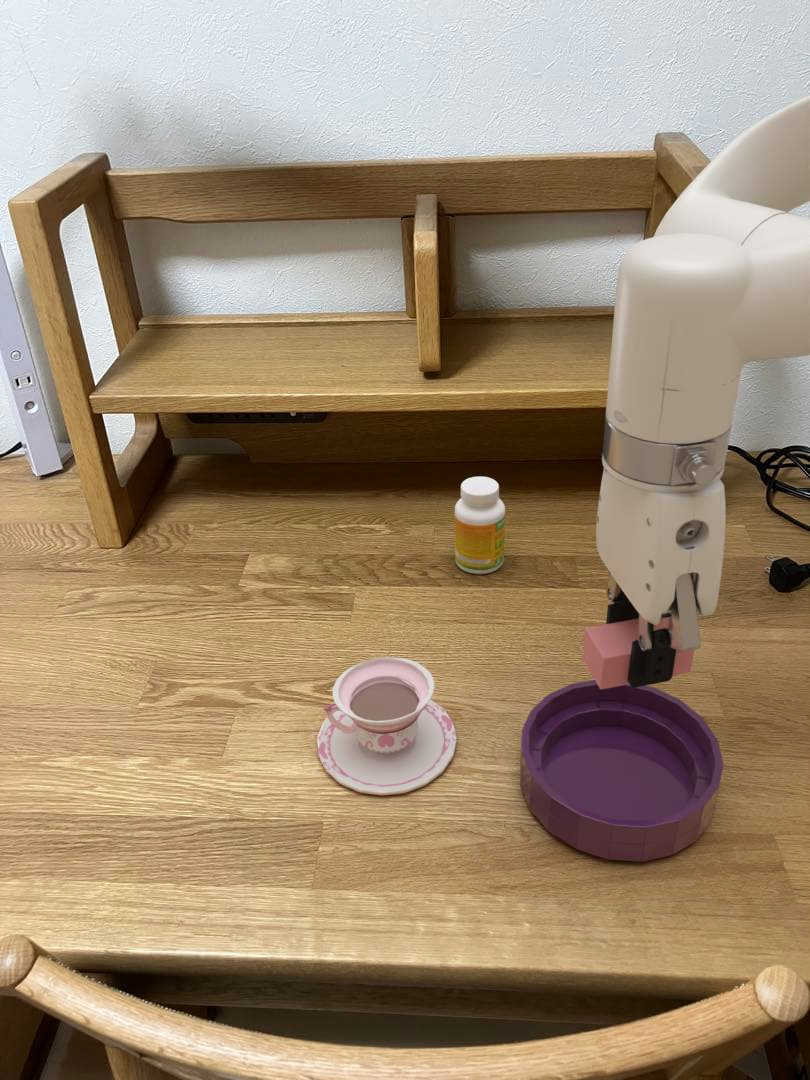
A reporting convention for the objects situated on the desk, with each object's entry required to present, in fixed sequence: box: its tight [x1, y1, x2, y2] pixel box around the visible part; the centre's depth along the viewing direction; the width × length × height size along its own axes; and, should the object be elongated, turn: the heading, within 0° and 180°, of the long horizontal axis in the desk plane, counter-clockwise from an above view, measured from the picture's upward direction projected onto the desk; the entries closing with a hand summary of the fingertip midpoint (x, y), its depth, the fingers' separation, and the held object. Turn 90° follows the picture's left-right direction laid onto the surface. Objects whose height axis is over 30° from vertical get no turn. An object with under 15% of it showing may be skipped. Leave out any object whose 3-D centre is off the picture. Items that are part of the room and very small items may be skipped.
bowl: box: [519, 679, 724, 862], centre depth 71 cm, size 15×15×4 cm
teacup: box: [316, 656, 458, 796], centre depth 75 cm, size 12×12×6 cm
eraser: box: [582, 617, 695, 689], centre depth 66 cm, size 7×4×3 cm, turn 102°
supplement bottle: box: [454, 476, 506, 575], centre depth 96 cm, size 5×5×10 cm
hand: (637, 660), depth 66 cm, fingers closed on eraser, 3 cm apart
